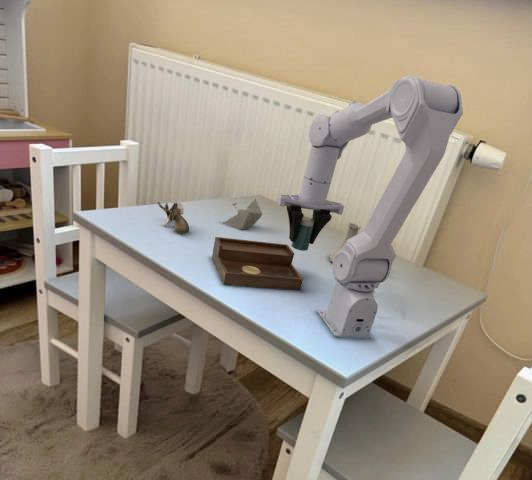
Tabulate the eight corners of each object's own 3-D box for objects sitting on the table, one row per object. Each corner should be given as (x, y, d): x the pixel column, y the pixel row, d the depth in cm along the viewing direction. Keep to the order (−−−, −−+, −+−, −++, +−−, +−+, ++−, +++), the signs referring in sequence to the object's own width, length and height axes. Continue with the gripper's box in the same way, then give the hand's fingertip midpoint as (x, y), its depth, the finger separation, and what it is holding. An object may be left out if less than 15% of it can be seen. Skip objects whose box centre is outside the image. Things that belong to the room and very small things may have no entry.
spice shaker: (310, 251, 112) (318, 223, 109) (294, 249, 111) (301, 221, 108) (304, 244, 115) (312, 216, 112) (289, 243, 114) (296, 214, 111)
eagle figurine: (148, 215, 126) (162, 222, 119) (164, 191, 126) (179, 196, 119) (171, 232, 131) (186, 240, 125) (187, 209, 131) (202, 215, 124)
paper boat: (236, 229, 132) (213, 207, 135) (237, 243, 138) (215, 223, 141) (271, 204, 135) (248, 183, 138) (270, 219, 141) (248, 200, 144)
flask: (355, 271, 128) (368, 233, 123) (327, 263, 129) (339, 225, 124) (356, 261, 134) (368, 225, 129) (330, 254, 135) (341, 217, 130)
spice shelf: (300, 290, 111) (306, 268, 108) (223, 284, 105) (227, 261, 102) (282, 265, 121) (287, 244, 118) (211, 258, 115) (215, 236, 112)
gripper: (341, 178, 111) (324, 237, 118) (279, 168, 106) (265, 230, 113) (354, 188, 106) (335, 250, 112) (289, 178, 101) (274, 243, 108)
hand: (301, 241), depth 112 cm, fingers closed on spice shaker, 4 cm apart
